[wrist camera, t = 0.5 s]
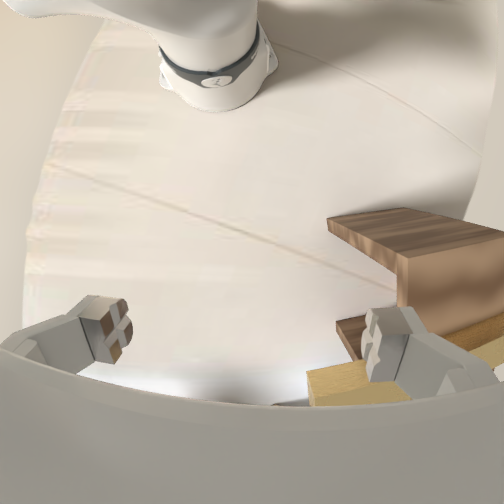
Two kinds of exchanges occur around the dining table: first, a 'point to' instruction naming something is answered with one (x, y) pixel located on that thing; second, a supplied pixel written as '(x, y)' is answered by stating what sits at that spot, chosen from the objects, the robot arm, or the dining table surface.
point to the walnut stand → (428, 267)
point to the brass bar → (364, 392)
